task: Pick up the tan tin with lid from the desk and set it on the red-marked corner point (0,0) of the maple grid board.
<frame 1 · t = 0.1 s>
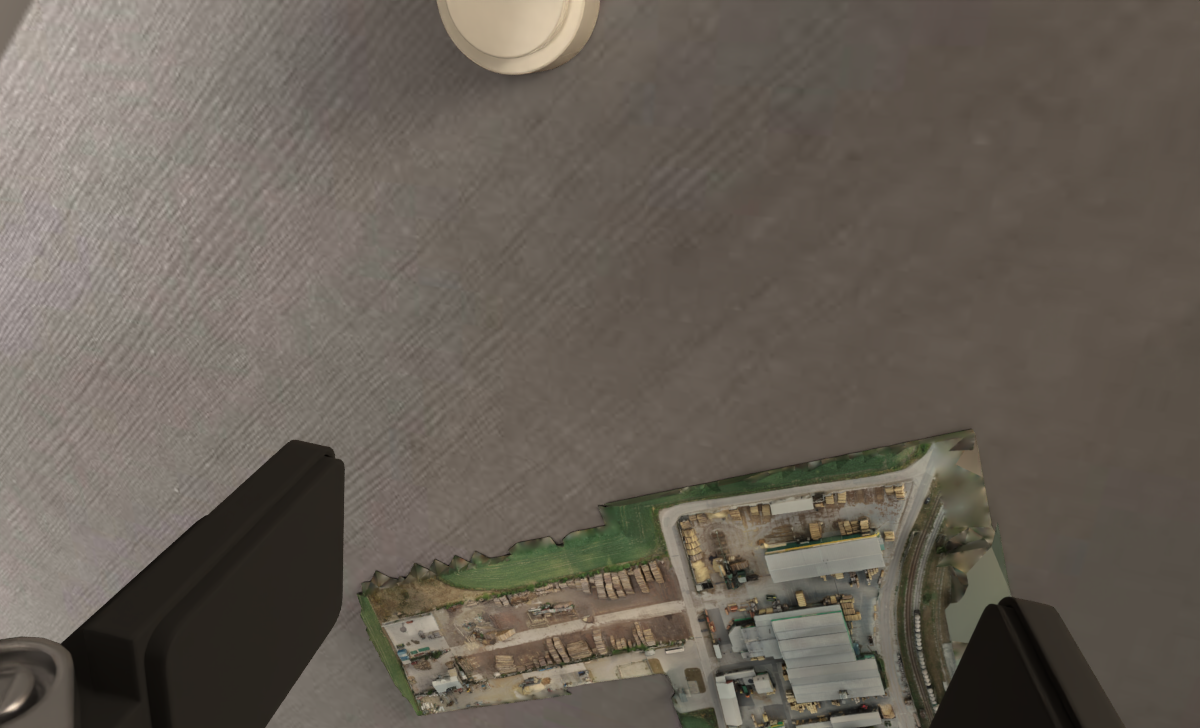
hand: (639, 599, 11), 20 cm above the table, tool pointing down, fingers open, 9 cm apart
model: (681, 680, 37), on the table
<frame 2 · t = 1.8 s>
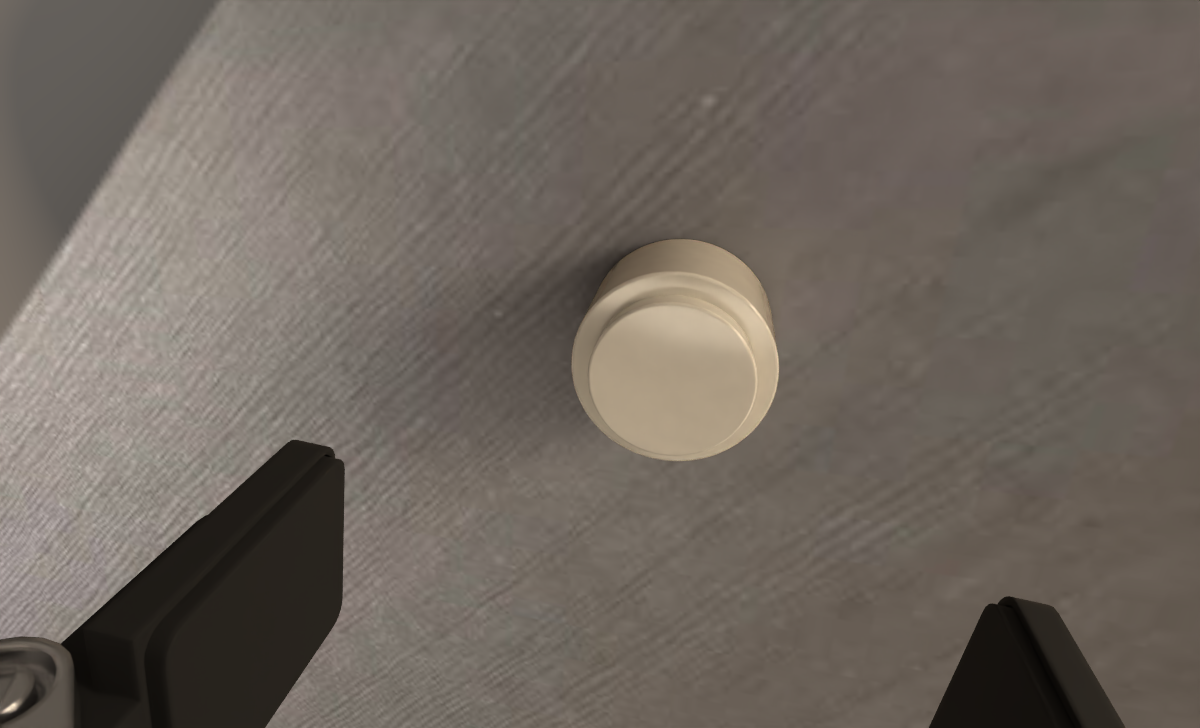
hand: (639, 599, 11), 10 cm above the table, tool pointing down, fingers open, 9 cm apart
tan tin with lid: (680, 326, 20), on the table
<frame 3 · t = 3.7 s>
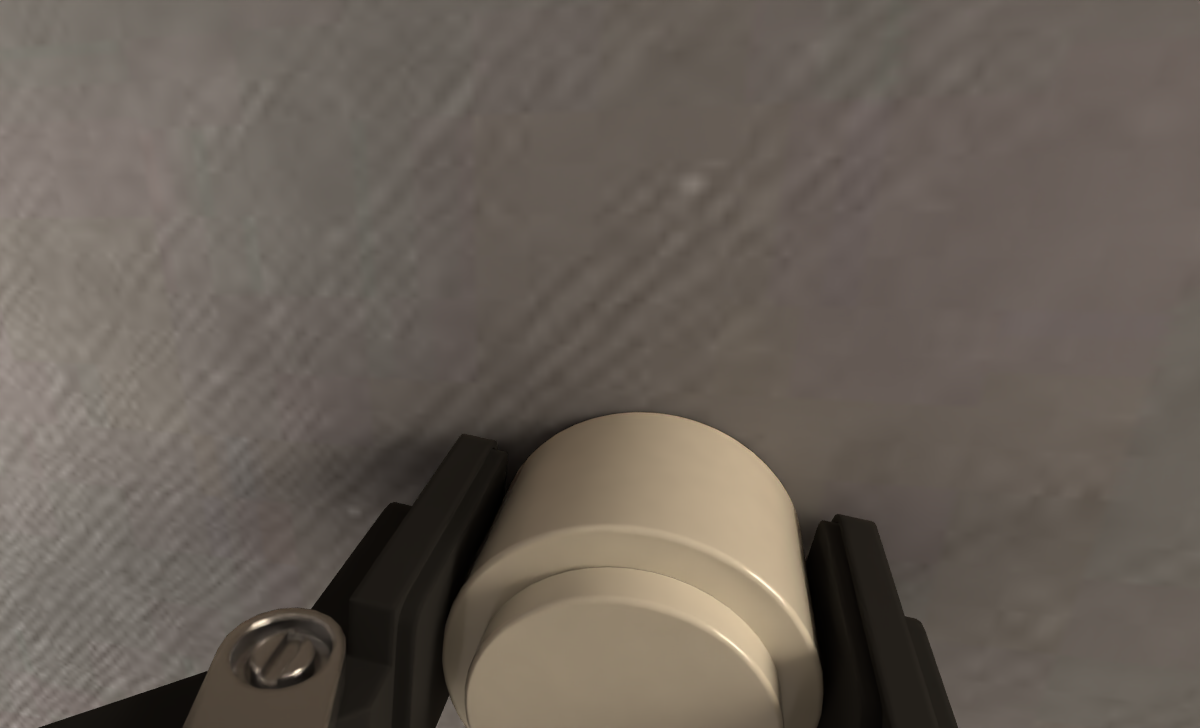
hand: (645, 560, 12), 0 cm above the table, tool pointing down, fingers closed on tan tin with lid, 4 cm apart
tan tin with lid: (647, 544, 12), on the table, touching gripper
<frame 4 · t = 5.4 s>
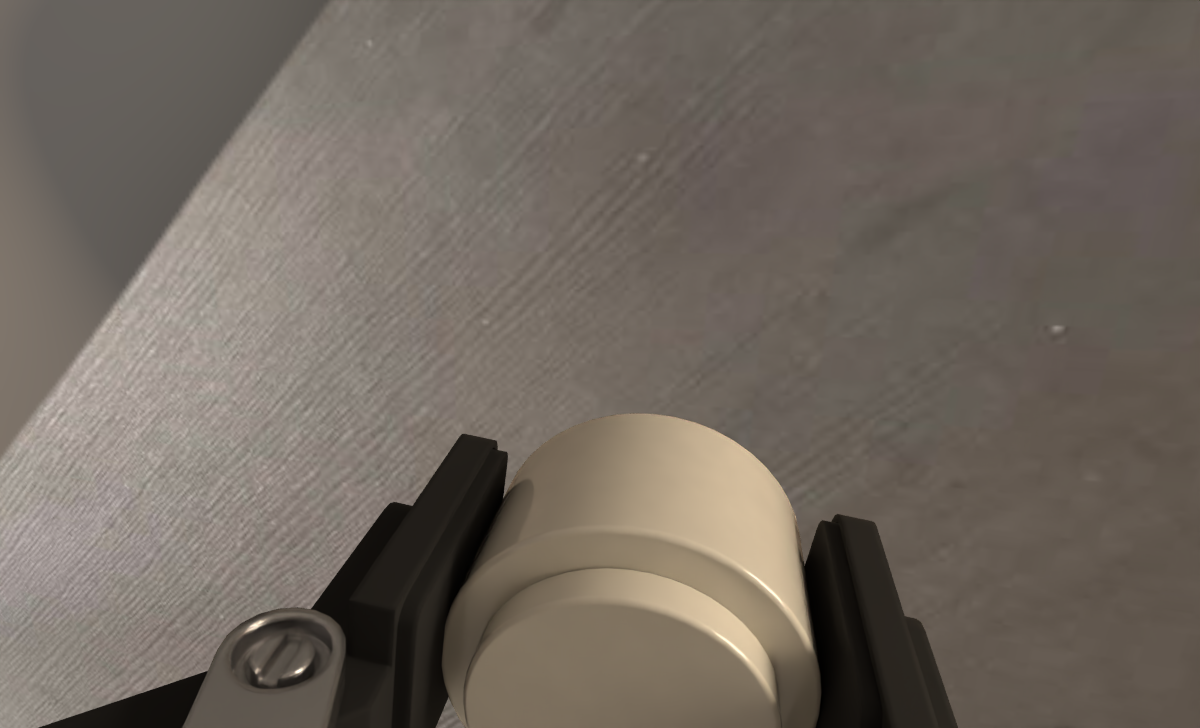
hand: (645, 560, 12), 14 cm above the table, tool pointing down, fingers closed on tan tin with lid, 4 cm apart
tan tin with lid: (646, 545, 12), point 14 cm above the table, touching gripper
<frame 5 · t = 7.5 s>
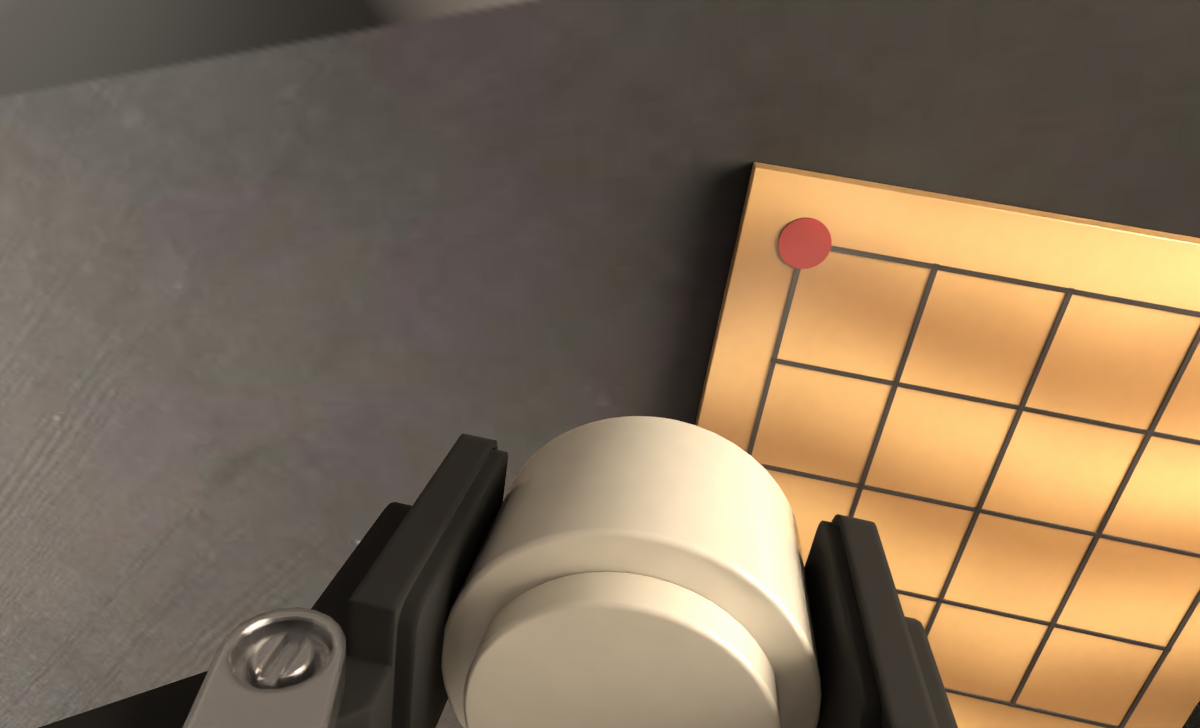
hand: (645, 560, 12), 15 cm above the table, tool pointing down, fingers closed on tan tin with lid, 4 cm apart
tan tin with lid: (646, 547, 12), point 15 cm above the table, touching gripper
board: (967, 491, 27), on the table
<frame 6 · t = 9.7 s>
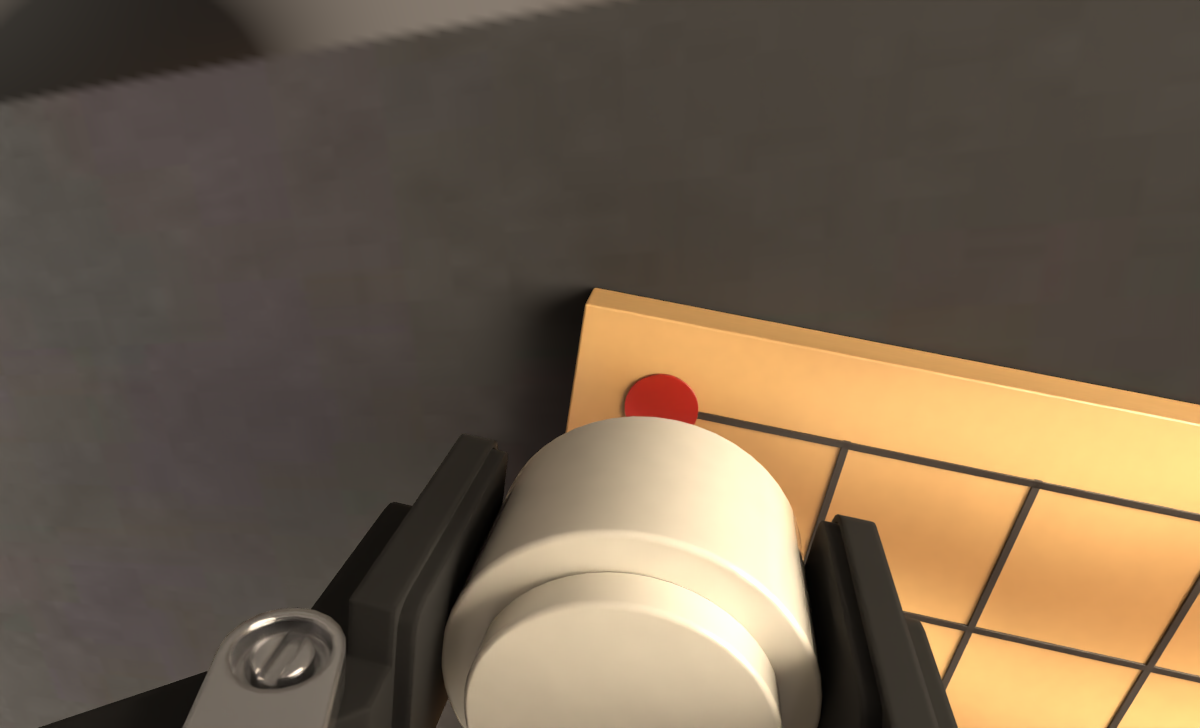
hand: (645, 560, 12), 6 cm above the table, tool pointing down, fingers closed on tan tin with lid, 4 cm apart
tan tin with lid: (647, 547, 12), point 6 cm above the table, touching gripper
board: (903, 709, 20), on the table
when the fingers open (2 cm above the table, at t = 11.3 s): tan tin with lid stays where it is, resting on board.
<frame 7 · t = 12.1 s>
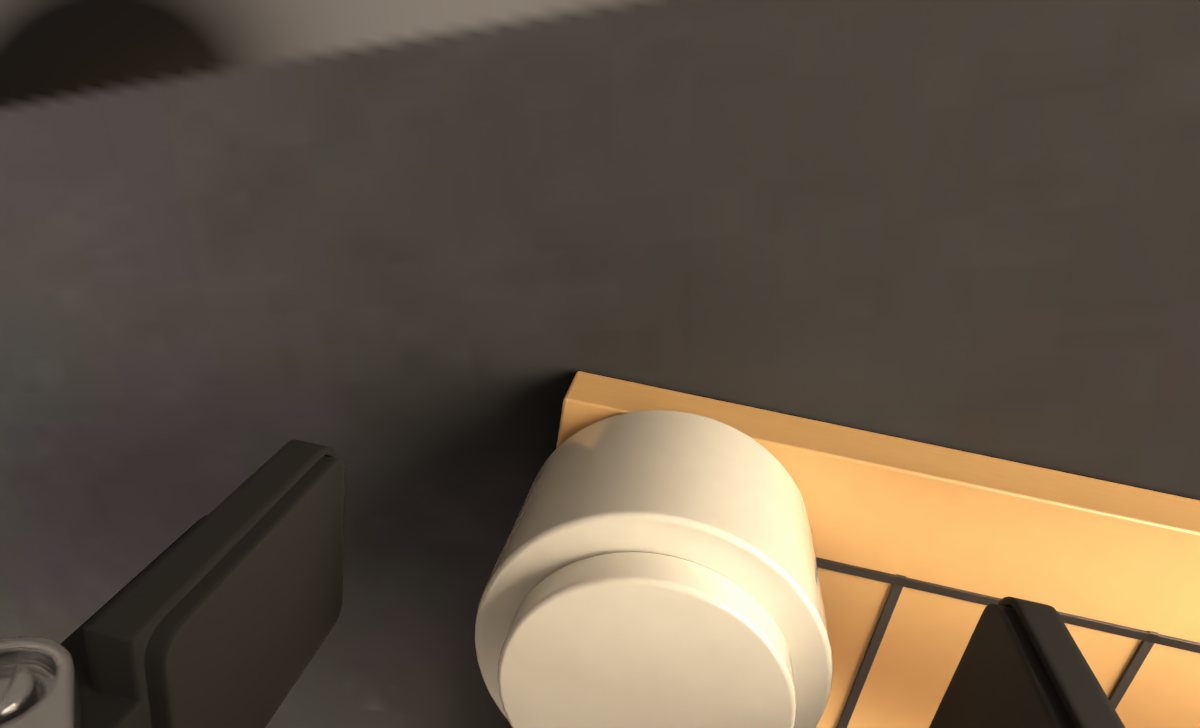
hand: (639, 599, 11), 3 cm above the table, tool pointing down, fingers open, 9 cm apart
tan tin with lid: (664, 535, 13), point 1 cm above the table, touching board
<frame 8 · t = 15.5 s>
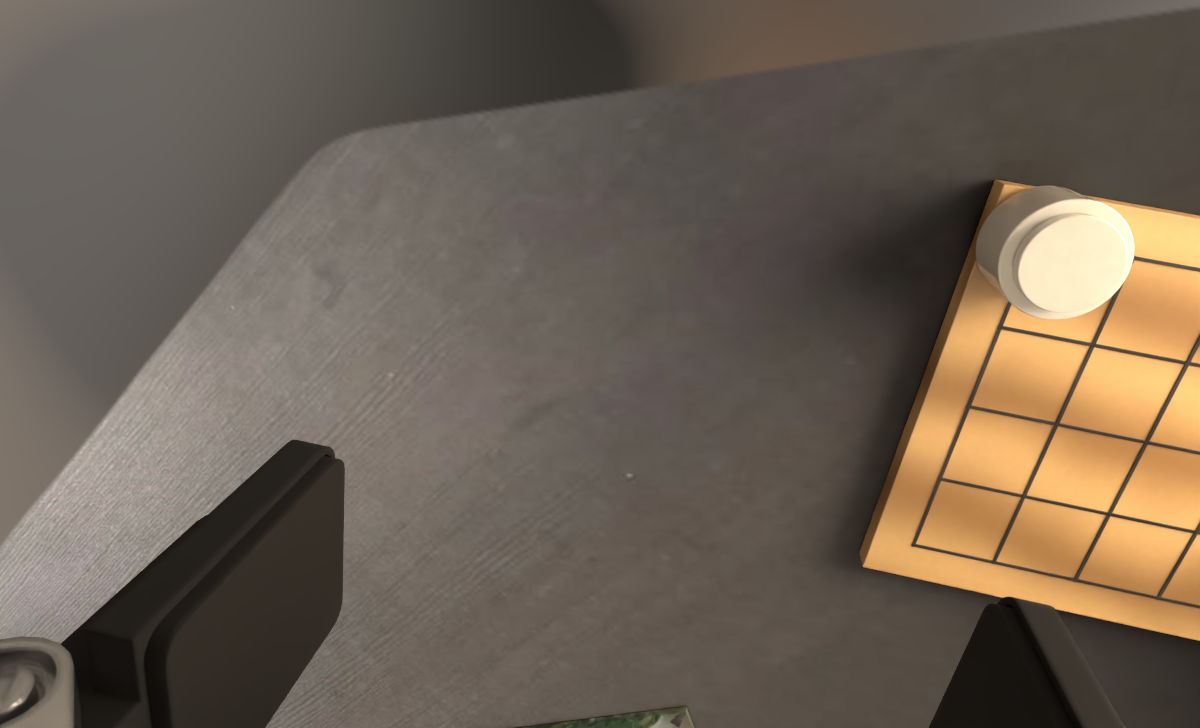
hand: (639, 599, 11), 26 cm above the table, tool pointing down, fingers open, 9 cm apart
tan tin with lid: (1036, 243, 32), point 1 cm above the table, touching board
board: (1133, 429, 36), on the table
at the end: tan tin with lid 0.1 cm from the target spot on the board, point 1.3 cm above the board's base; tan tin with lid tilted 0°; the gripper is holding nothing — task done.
